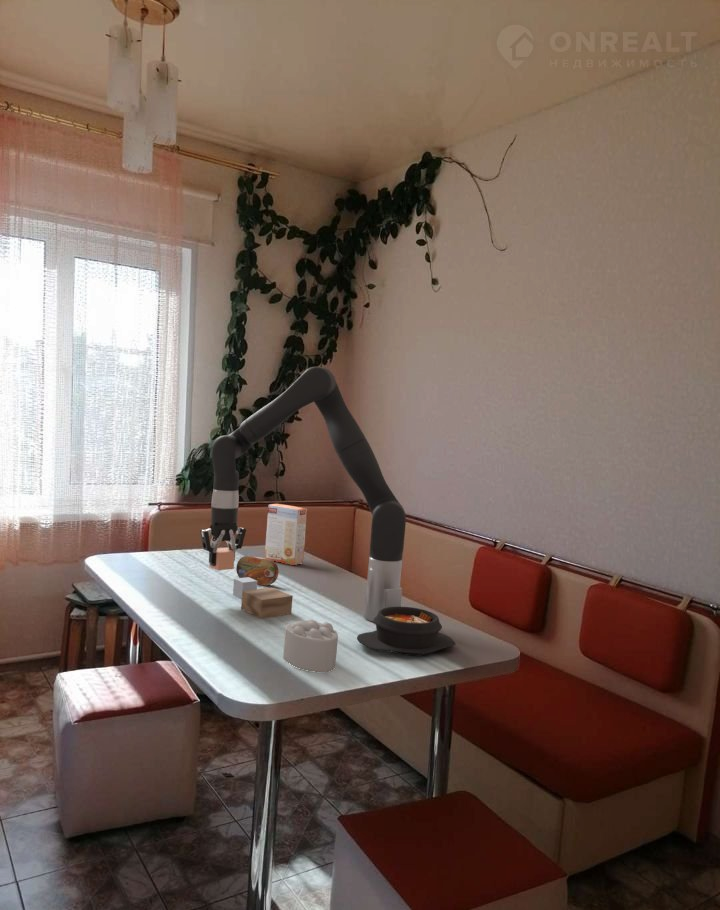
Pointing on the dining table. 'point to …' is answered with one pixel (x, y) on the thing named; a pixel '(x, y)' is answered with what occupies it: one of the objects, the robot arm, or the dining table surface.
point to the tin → (257, 569)
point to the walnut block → (266, 602)
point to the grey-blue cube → (243, 586)
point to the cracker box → (285, 534)
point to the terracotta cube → (224, 559)
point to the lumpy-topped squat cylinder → (311, 646)
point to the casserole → (406, 632)
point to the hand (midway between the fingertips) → (221, 564)
